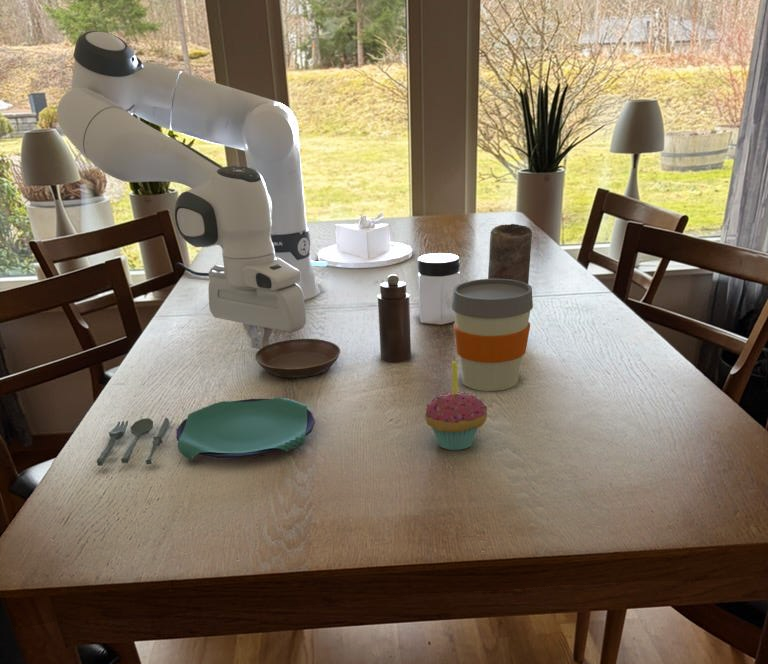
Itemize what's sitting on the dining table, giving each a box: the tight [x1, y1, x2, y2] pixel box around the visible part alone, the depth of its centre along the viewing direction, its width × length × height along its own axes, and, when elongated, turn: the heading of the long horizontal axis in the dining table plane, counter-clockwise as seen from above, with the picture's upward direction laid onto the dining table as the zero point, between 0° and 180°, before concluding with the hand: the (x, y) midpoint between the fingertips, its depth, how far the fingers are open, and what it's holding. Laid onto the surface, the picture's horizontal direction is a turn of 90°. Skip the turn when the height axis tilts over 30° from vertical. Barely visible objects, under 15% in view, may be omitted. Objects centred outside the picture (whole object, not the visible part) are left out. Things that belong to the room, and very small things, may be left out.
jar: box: [417, 252, 461, 326], centre depth 156 cm, size 9×8×12 cm
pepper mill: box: [377, 273, 412, 364], centre depth 137 cm, size 5×5×15 cm
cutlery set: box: [96, 396, 316, 467], centre depth 114 cm, size 20×30×2 cm, turn 94°
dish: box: [317, 212, 413, 269], centre depth 206 cm, size 25×25×11 cm
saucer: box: [254, 338, 341, 379], centre depth 138 cm, size 15×15×3 cm
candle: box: [487, 223, 533, 284], centre depth 141 cm, size 8×7×20 cm
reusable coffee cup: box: [452, 278, 534, 392], centre depth 125 cm, size 13×13×15 cm
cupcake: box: [424, 355, 488, 451], centre depth 106 cm, size 9×8×12 cm
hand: (260, 348), depth 142 cm, fingers closed
